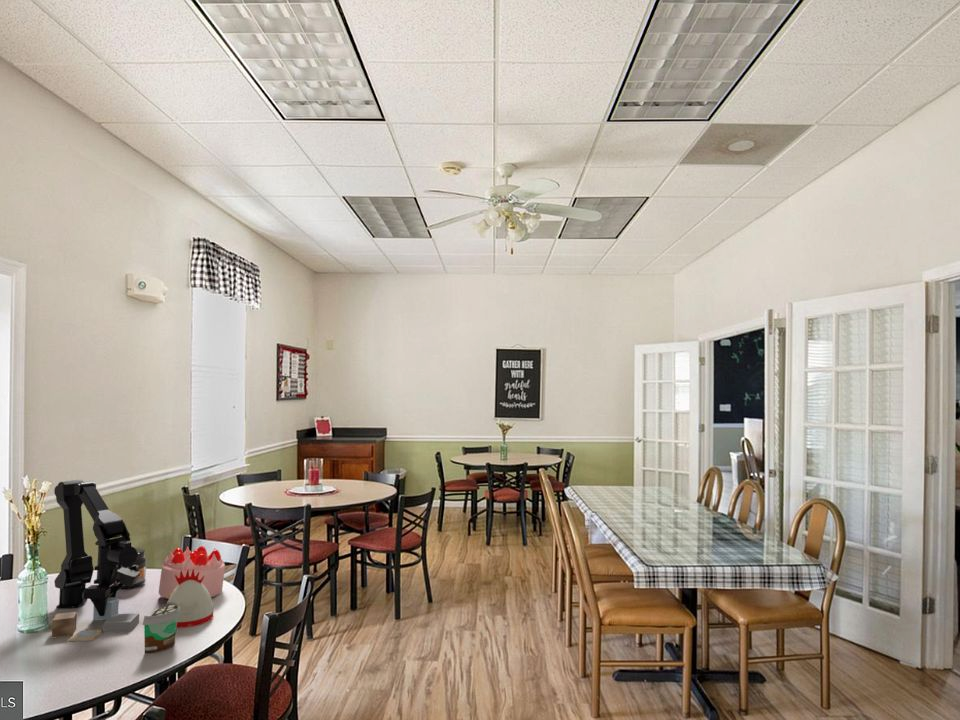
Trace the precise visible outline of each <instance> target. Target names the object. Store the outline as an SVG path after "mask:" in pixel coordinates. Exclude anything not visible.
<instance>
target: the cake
mask: <svg viewBox="0 0 960 720" xmlns="http://www.w3.org/2000/svg"><path fill="white" fill-rule="evenodd" d="M193 569H194V574H195V576H196V575H197V574H198V572H199V576H198V579H199V580H200V579H201V578H202V577H203V576H204V578H203V580H202V582H201V583H202V584H203V585H204V586H205V587H206V589H207V590H208V592H209V594H210V597H211V598H214V597H216V596H219V595H220V594H221V593H222V591H223V586H224V578H225V569H226V564H225V562H224V561H223V559H222V556H221V553H220V551H219V550H218V549H216V547H214V549H213V550H212V552H210V554H208V552H207V549H206V547H205V546H204V545H203V546H199V547H198V548H196V549H195V550H193V551H191V550H190V549H189V546H186V549H185V550H184V551H183V549H182V548H180V547H177V548H175V549H174V550H173V551H172V552H171V551H170V550H169V551H168V554H167V556H166V557H165V559H163V560H162V565H161V571H160V580H159V586H158V595H159V596H160V597H162V598H164V599H166V600H167V599H168V596H169V595H170V594H171V593H172V592H173V591H174V589H175V588H176V587H177V586H178V585H179V584H178V582H177V580H176V578H175V575H177V577H180V572H181V570H182V573H183V576H184V577H185V576H186V573H187V570H189V576H191V574H192V571H193ZM168 600H169V599H168Z"/></svg>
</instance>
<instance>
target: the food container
mask: <svg viewBox="0 0 960 720" xmlns="http://www.w3.org/2000/svg"><path fill="white" fill-rule="evenodd" d="M180 614H181V612H180V607H179V605H178V604H177V603H175V602H168V601H166V605H164V606H163V607H161V608H159V609H157V610H155V611H154V612H153V613H152V614H151V615H149V616H148V615H144V618H143V622H142V625H143V628H144V654H155V653H160V652H163V651H166V650H169V649H171V648H172V647H174V645H175V642H176V631H177V628H176V626H177V618H178V616H179V615H180Z"/></svg>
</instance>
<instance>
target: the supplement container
mask: <svg viewBox="0 0 960 720" xmlns="http://www.w3.org/2000/svg"><path fill="white" fill-rule="evenodd" d="M134 548H135V549H136V551H137V553H138V555H137V559H136V560H135V562H134V563H133V564H131V565H130V566H122V567H123V568H127V567H128V569H130V568H131V567H132V566H133V565H137V566H139V571H140V576H138V578H137V581H136V583H134V584H133V585H132V586H126V585H124V586H122V587H121V588H120V589H119V590H120V591H121V590H122V591H127V590H133V589H136V588H140V587H142V586H143V585H144V584H145V583H146V574H147V573H146V571H147V561H148V560H147V558H146V557H145V556H146V549H145V548H140V547H134ZM119 590H118V591H119Z"/></svg>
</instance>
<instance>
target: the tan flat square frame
mask: <svg viewBox="0 0 960 720" xmlns="http://www.w3.org/2000/svg"><path fill="white" fill-rule="evenodd" d="M102 632H103V630H102V629H97V630H96V629H93V630H92V629H91V630H79V631H77V632H76V633H74V634H73V635H72V636H71V637H70V638H69V639H68V642H82V641H83V642H84V641H85V642H86V641H87V642H88V641H93V640H95V639H96V638H97V637H98V636H99V635H101V634H102Z"/></svg>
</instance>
